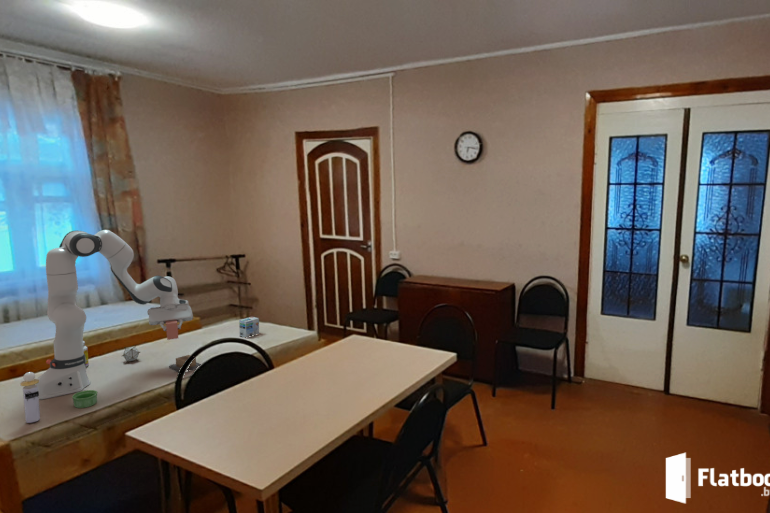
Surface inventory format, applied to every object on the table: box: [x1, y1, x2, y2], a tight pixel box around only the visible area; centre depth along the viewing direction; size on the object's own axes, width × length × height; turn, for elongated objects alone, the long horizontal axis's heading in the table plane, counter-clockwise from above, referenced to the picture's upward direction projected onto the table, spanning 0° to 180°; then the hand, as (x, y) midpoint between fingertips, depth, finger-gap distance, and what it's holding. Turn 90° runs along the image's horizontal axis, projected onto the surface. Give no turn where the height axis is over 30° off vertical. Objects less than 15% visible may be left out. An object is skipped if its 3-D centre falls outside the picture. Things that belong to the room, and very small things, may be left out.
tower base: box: [168, 354, 202, 373], centre depth 243 cm, size 12×12×5 cm
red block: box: [165, 320, 179, 341], centre depth 236 cm, size 5×5×8 cm
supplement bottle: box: [83, 340, 89, 368], centre depth 242 cm, size 7×7×13 cm
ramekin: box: [71, 389, 99, 409], centre depth 200 cm, size 9×9×4 cm
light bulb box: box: [238, 316, 260, 338], centre depth 298 cm, size 11×7×11 cm, turn 147°
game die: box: [121, 345, 141, 364], centre depth 251 cm, size 9×8×10 cm
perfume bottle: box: [19, 371, 41, 424], centre depth 183 cm, size 6×6×20 cm
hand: (172, 329), depth 235 cm, fingers closed on red block, 5 cm apart
